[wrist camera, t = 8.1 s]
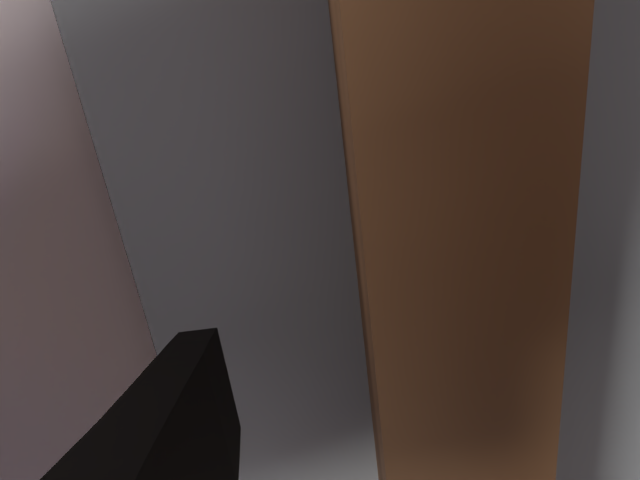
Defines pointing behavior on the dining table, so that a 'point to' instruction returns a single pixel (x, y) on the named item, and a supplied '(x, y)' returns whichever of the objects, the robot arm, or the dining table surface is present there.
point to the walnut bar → (463, 223)
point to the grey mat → (323, 221)
